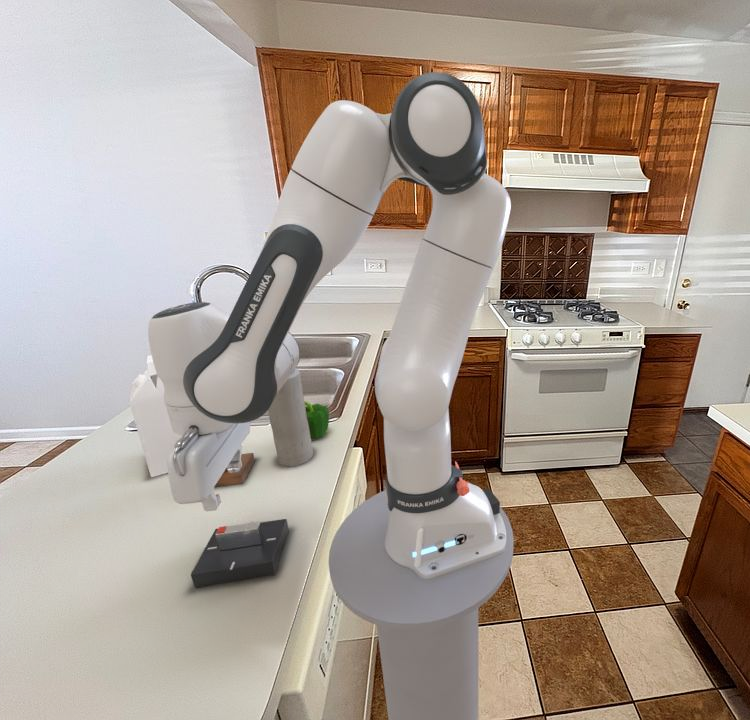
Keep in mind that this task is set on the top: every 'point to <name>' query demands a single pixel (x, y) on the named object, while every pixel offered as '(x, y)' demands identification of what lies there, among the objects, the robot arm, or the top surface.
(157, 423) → the milk
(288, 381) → the thermos bottle
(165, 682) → the top surface
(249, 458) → the button block
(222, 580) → the tap base
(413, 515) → the robot arm
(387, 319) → the top surface
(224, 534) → the tap knob
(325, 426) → the bell pepper
